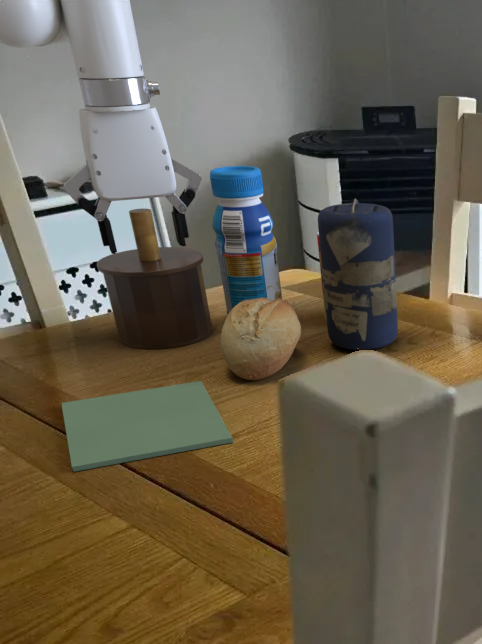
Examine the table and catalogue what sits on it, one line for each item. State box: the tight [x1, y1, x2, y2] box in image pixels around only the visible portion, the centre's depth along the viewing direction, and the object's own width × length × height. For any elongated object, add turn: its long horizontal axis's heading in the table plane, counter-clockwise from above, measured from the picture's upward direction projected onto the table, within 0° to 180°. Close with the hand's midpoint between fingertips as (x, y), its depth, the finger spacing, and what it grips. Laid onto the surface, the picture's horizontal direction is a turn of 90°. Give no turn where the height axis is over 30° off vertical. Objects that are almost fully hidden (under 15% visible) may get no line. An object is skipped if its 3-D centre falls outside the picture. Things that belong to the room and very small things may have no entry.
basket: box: [102, 263, 213, 350], centre depth 114 cm, size 13×13×10 cm
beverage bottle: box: [209, 165, 283, 317], centre depth 115 cm, size 8×8×20 cm
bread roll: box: [220, 297, 302, 381], centre depth 104 cm, size 10×15×8 cm, turn 0°
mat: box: [60, 380, 234, 473], centre depth 91 cm, size 16×18×1 cm
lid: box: [96, 208, 204, 277], centre depth 109 cm, size 14×14×7 cm
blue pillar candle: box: [317, 198, 399, 351], centre depth 107 cm, size 10×10×18 cm
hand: (147, 247), depth 110 cm, fingers open, 8 cm apart
